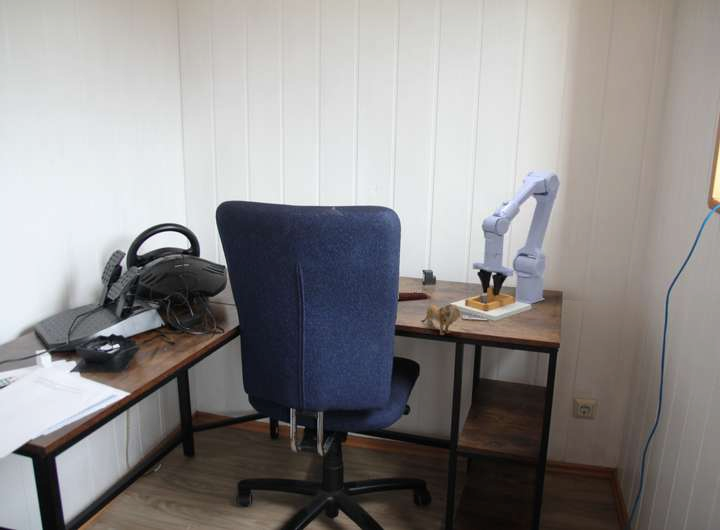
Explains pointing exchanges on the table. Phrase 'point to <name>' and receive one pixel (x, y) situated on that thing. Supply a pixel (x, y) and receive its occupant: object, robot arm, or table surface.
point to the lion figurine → (442, 316)
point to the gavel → (413, 296)
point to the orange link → (490, 301)
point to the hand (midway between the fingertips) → (491, 293)
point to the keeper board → (495, 313)
